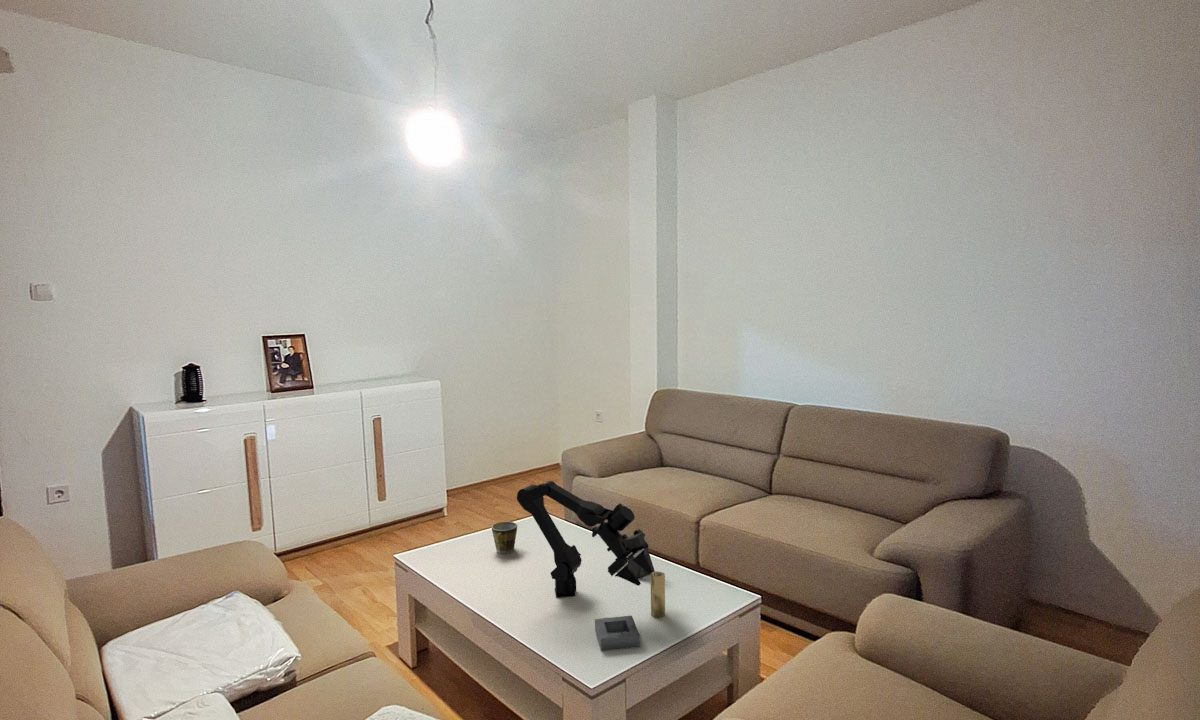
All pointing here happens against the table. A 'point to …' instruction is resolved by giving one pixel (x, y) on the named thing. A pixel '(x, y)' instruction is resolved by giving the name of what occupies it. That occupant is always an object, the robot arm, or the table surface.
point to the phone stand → (639, 570)
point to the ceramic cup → (504, 536)
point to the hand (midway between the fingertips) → (645, 578)
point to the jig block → (617, 640)
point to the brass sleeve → (657, 594)
